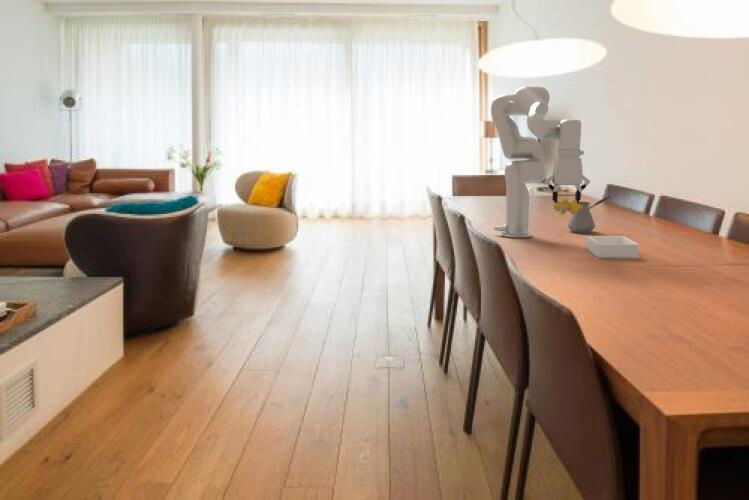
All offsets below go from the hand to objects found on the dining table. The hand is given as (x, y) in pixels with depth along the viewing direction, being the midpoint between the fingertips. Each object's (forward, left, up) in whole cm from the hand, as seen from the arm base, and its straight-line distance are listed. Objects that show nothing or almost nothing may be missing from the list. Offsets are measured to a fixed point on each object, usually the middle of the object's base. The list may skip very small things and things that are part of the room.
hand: (566, 202), depth 227 cm
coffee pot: (+21, +43, -18) cm, 51 cm away
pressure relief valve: (0, -5, -5) cm, 7 cm away
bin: (+15, -9, -18) cm, 25 cm away
